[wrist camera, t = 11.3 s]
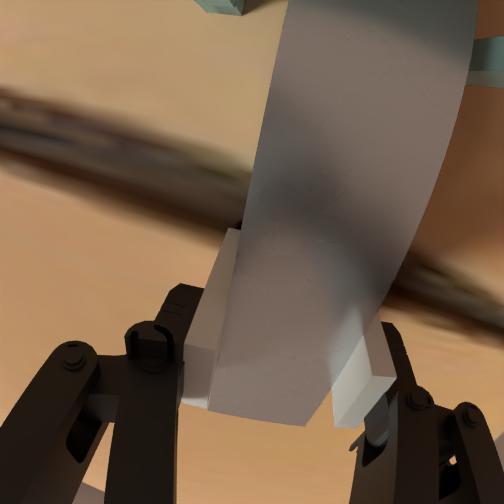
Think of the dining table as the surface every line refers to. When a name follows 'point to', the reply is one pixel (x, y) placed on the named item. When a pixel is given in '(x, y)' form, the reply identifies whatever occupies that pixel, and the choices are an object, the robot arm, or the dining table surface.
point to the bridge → (482, 58)
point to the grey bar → (336, 191)
